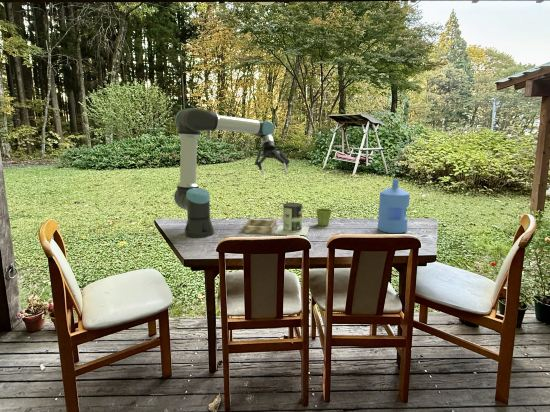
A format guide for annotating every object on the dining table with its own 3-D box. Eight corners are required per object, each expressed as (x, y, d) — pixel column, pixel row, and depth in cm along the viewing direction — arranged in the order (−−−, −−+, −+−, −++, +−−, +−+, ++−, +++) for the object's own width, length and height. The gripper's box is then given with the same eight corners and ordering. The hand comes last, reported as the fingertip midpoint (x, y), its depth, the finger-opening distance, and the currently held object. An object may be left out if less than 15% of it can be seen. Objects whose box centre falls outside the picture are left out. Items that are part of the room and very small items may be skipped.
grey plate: (274, 234, 203) (274, 233, 203) (279, 226, 220) (279, 225, 219) (306, 236, 201) (306, 235, 200) (309, 227, 217) (309, 226, 217)
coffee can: (302, 227, 214) (303, 203, 211) (300, 233, 204) (300, 207, 201) (284, 226, 216) (285, 202, 213) (281, 231, 206) (281, 206, 203)
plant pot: (319, 221, 229) (319, 207, 227) (333, 224, 224) (334, 209, 223) (312, 225, 221) (312, 210, 219) (327, 227, 217) (328, 212, 215)
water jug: (371, 228, 216) (374, 178, 210) (392, 224, 223) (396, 177, 217) (391, 235, 203) (395, 182, 197) (413, 231, 210) (417, 180, 204)
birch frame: (243, 232, 207) (243, 226, 206) (249, 224, 222) (249, 219, 221) (271, 233, 204) (271, 227, 204) (276, 226, 219) (276, 220, 218)
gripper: (286, 148, 234) (294, 176, 223) (246, 149, 228) (252, 178, 217) (289, 140, 228) (297, 168, 217) (248, 140, 222) (254, 169, 211)
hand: (274, 173), depth 217 cm, fingers open, 13 cm apart
